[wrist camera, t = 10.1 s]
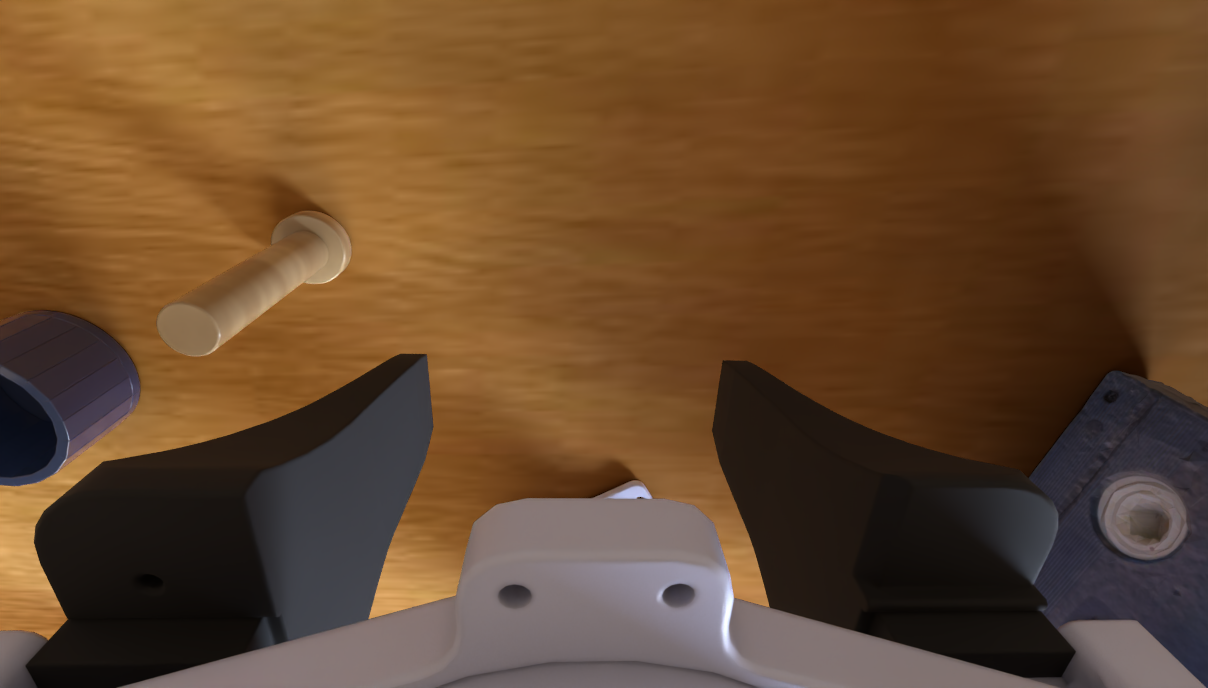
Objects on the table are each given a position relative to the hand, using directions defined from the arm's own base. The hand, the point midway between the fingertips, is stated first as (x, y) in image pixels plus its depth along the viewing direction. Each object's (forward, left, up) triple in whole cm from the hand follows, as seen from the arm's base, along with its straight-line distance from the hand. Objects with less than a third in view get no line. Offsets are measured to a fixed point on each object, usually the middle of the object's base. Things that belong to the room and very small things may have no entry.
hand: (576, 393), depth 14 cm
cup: (+6, +20, -9) cm, 23 cm away
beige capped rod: (+6, +8, -9) cm, 14 cm away
